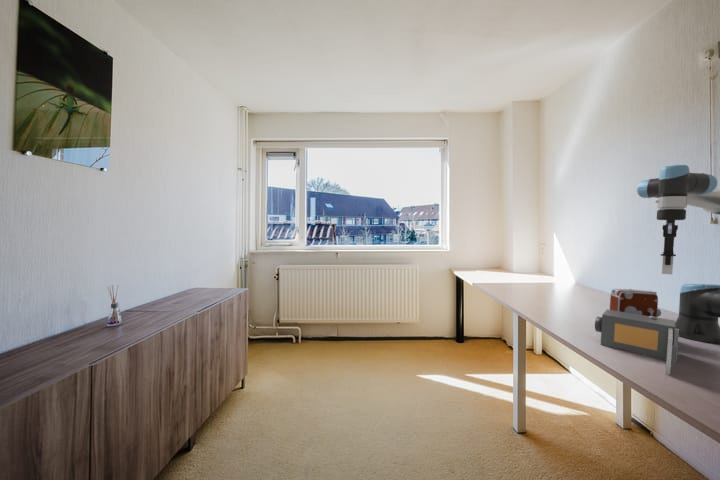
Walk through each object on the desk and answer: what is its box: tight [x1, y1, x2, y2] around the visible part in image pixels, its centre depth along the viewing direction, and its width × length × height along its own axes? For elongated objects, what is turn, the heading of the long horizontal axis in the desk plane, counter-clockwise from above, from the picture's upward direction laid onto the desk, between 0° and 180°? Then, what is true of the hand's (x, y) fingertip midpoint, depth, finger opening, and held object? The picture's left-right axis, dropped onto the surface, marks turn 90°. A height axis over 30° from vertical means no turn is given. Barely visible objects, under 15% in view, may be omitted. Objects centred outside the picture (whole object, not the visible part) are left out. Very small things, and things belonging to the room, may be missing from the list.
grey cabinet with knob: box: [594, 309, 680, 362], centre depth 120 cm, size 13×24×13 cm, turn 45°
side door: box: [665, 328, 677, 375], centre depth 103 cm, size 2×16×11 cm, turn 135°
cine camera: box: [609, 288, 662, 318], centre depth 134 cm, size 9×19×20 cm, turn 78°
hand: (667, 273), depth 115 cm, fingers closed
